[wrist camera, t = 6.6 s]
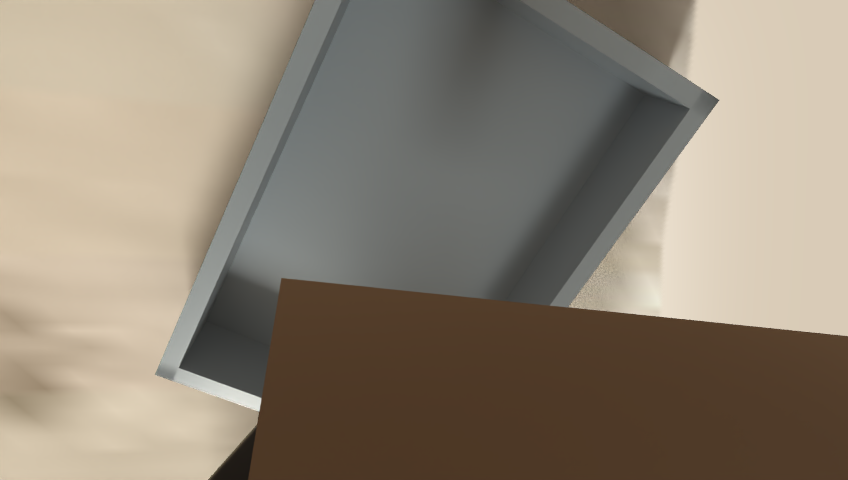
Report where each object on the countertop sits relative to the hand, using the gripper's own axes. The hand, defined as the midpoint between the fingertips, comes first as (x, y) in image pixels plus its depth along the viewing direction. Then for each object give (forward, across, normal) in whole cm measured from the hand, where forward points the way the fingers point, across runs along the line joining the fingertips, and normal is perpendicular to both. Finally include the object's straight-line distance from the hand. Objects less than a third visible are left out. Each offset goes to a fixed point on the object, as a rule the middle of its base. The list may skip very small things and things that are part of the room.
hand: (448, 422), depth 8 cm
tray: (+12, 0, +2) cm, 12 cm away
